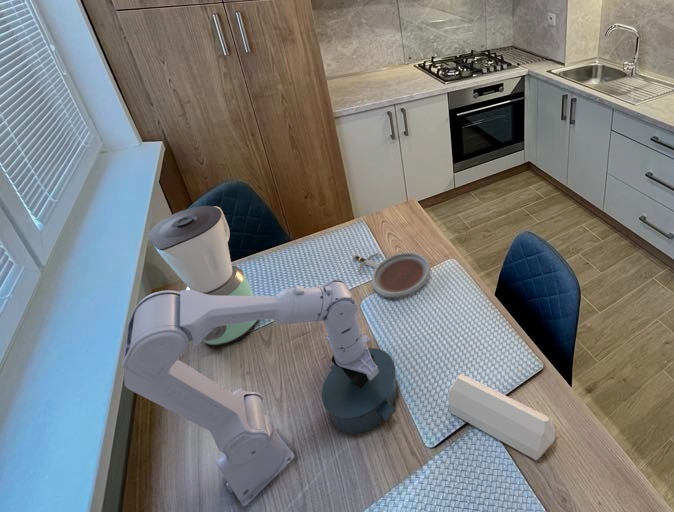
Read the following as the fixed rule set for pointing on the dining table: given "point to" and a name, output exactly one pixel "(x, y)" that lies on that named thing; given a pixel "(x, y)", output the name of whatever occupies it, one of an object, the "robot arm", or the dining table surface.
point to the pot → (368, 415)
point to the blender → (203, 261)
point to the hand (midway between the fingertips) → (358, 379)
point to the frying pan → (398, 274)
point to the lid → (358, 389)
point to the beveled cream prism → (501, 417)
